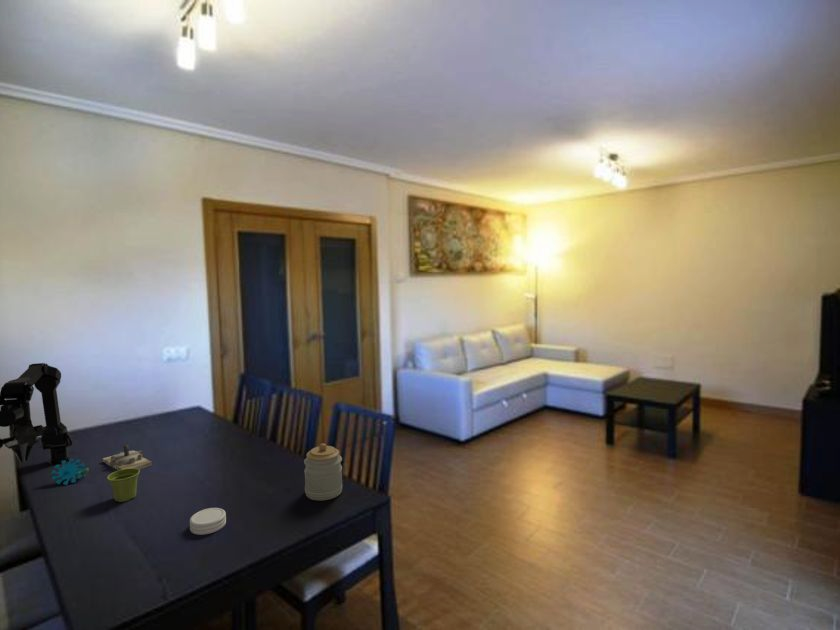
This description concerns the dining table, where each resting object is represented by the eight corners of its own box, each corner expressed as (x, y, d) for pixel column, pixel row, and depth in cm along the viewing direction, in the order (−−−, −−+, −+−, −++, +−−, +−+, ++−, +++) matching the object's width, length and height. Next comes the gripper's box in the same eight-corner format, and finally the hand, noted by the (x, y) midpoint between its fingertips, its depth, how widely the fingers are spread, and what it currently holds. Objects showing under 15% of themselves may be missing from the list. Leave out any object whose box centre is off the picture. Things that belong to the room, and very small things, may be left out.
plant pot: (106, 507, 150) (105, 482, 149) (111, 495, 158) (109, 471, 157) (140, 500, 154) (138, 476, 153) (142, 489, 162) (140, 465, 161)
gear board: (101, 462, 186) (100, 444, 185) (131, 453, 195) (130, 436, 194) (122, 474, 174) (121, 455, 173) (153, 464, 183) (152, 446, 182)
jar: (349, 487, 163) (348, 439, 162) (330, 504, 151) (329, 452, 150) (317, 481, 168) (316, 435, 166) (297, 498, 155) (295, 448, 154)
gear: (47, 484, 162) (55, 458, 169) (49, 491, 166) (57, 465, 172) (85, 482, 167) (91, 456, 174) (86, 488, 171) (92, 463, 177)
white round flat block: (189, 538, 132) (188, 527, 132) (191, 521, 141) (190, 511, 141) (226, 531, 136) (225, 519, 136) (226, 514, 145) (225, 504, 145)
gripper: (-11, 430, 144) (-7, 477, 145) (61, 415, 159) (64, 458, 160) (-20, 423, 150) (-16, 468, 151) (50, 409, 165) (53, 451, 167)
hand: (23, 461), depth 157 cm, fingers closed
